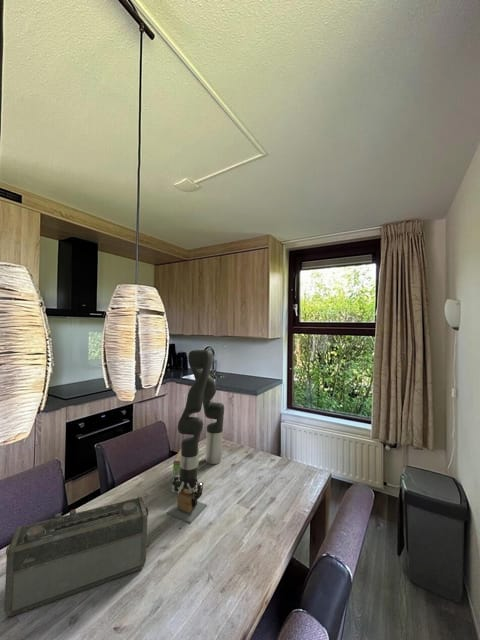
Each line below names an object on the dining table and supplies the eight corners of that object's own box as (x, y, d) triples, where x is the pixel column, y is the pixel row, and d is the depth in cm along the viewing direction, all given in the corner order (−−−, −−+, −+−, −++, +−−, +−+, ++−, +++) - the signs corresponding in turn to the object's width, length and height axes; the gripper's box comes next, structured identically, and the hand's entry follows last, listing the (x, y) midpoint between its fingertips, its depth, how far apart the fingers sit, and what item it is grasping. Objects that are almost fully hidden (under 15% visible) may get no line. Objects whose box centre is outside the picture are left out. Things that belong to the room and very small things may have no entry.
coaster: (184, 497, 127) (184, 496, 127) (206, 505, 121) (206, 504, 121) (166, 513, 116) (166, 512, 116) (190, 523, 111) (190, 521, 111)
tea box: (192, 494, 130) (193, 462, 130) (171, 492, 130) (172, 460, 130) (198, 476, 145) (199, 447, 145) (178, 475, 145) (180, 446, 145)
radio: (-3, 624, 72) (1, 546, 72) (11, 578, 85) (14, 512, 85) (149, 569, 90) (151, 506, 90) (142, 537, 103) (144, 483, 103)
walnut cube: (185, 500, 123) (186, 486, 123) (197, 504, 120) (197, 490, 120) (177, 508, 117) (177, 493, 117) (188, 513, 115) (189, 498, 115)
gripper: (208, 464, 119) (206, 504, 119) (180, 456, 125) (179, 494, 125) (198, 473, 112) (196, 515, 112) (169, 464, 118) (168, 503, 118)
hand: (187, 503), depth 119 cm, fingers closed on walnut cube, 6 cm apart
